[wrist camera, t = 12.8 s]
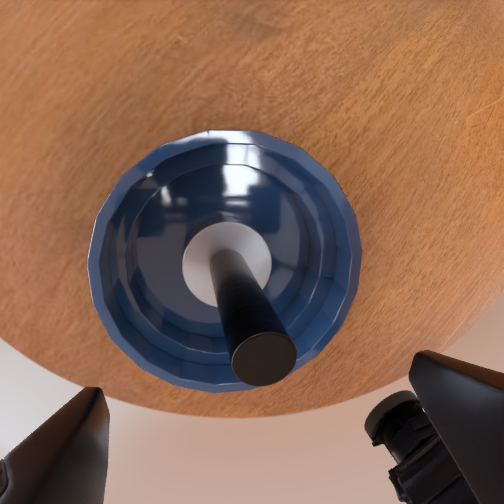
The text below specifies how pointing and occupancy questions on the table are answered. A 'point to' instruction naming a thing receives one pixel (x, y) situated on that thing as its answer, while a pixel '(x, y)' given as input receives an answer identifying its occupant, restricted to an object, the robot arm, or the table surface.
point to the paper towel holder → (239, 297)
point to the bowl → (195, 212)
